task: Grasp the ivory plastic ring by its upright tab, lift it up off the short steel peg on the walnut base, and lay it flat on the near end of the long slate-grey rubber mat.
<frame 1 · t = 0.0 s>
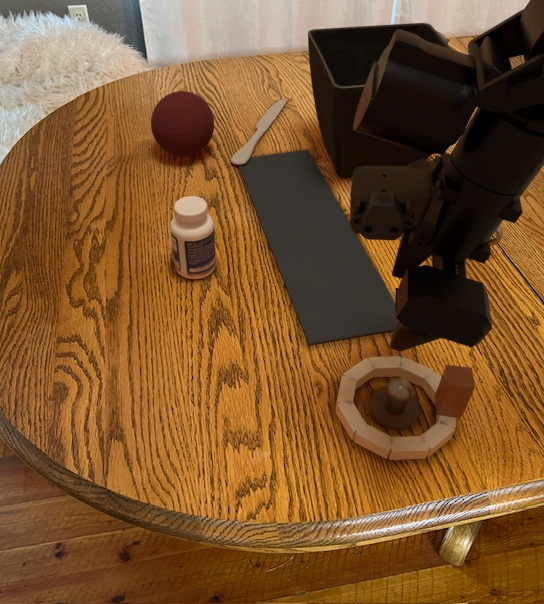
hand: (395, 310, 54), 13 cm above the table, tool pointing down, fingers open, 9 cm apart
cat figurine: (416, 99, 109), on the table
ivory ring: (393, 409, 62), on the table
rubber mat: (308, 231, 83), on the table
pill bottle: (195, 267, 79), on the table
butter knife: (262, 130, 102), on the table, touching rubber mat
flower pot: (368, 157, 96), on the table
oil lamp: (444, 242, 81), on the table
decorative ball: (185, 153, 99), on the table
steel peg: (393, 409, 62), on the table
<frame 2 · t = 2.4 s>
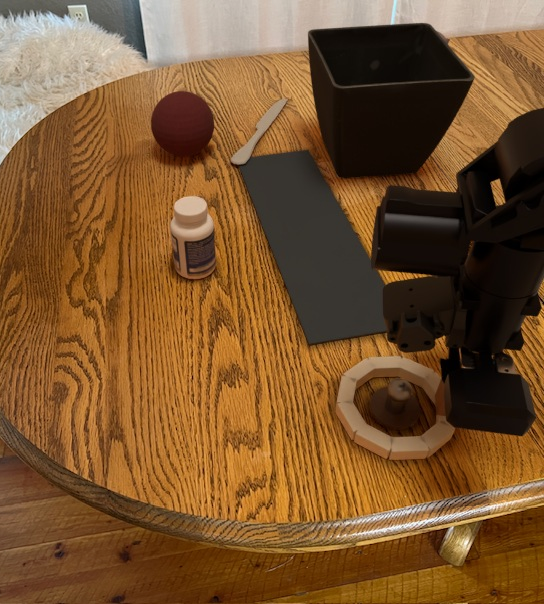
hand: (453, 392, 58), 4 cm above the table, tool pointing down, fingers closed on ivory ring, 2 cm apart
ivory ring: (393, 409, 62), on the table, touching gripper
everything else where it was.
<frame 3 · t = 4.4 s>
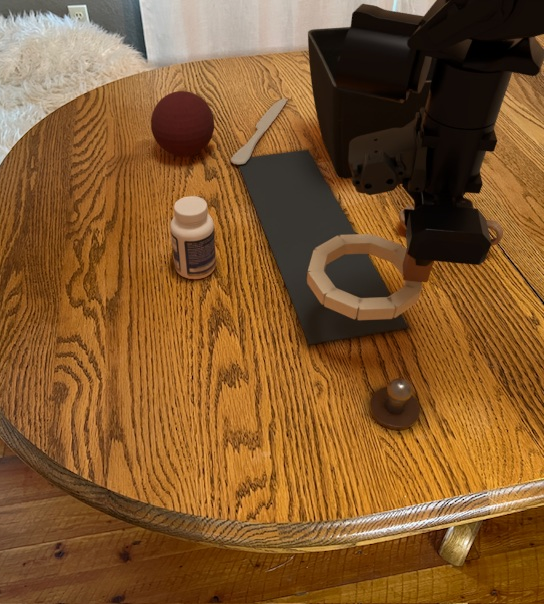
hand: (420, 255, 60), 12 cm above the table, tool pointing down, fingers closed on ivory ring, 2 cm apart
ivory ring: (363, 280, 64), point 8 cm above the table, touching gripper
everything else where it was.
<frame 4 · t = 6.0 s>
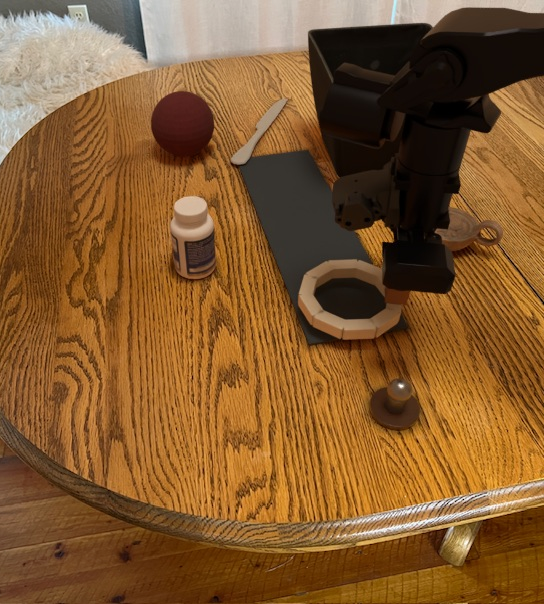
hand: (399, 281, 67), 6 cm above the table, tool pointing down, fingers closed on ivory ring, 2 cm apart
ivory ring: (349, 302, 71), point 2 cm above the table, touching gripper
everything else where it was.
when the fingers open (4 cm above the table, at t = 6.7 s): ivory ring stays where it is, resting on rubber mat.
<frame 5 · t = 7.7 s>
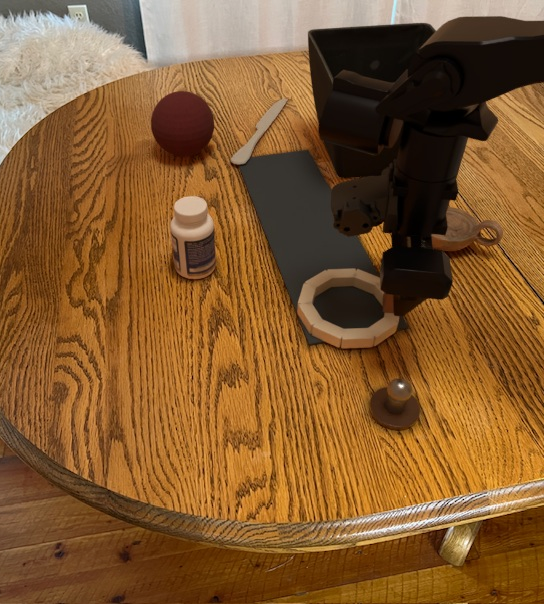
hand: (397, 285, 68), 5 cm above the table, tool pointing down, fingers open, 9 cm apart
ivory ring: (347, 311, 72), resting on rubber mat
everything else where it was.
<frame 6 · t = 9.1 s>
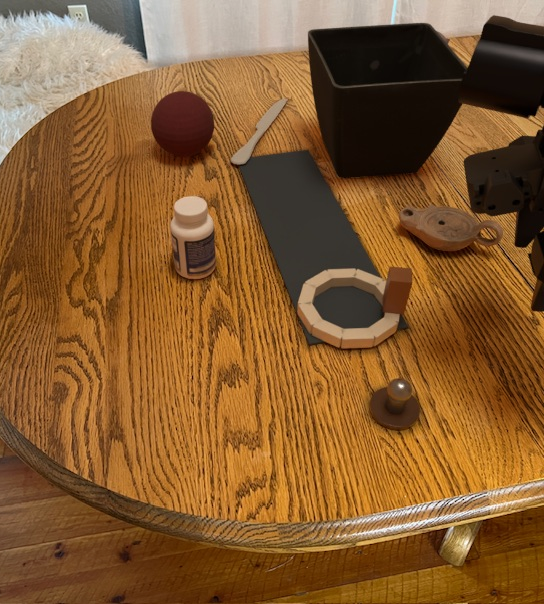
hand: (527, 276, 58), 12 cm above the table, tool pointing down, fingers open, 9 cm apart
nothing on the table moved.
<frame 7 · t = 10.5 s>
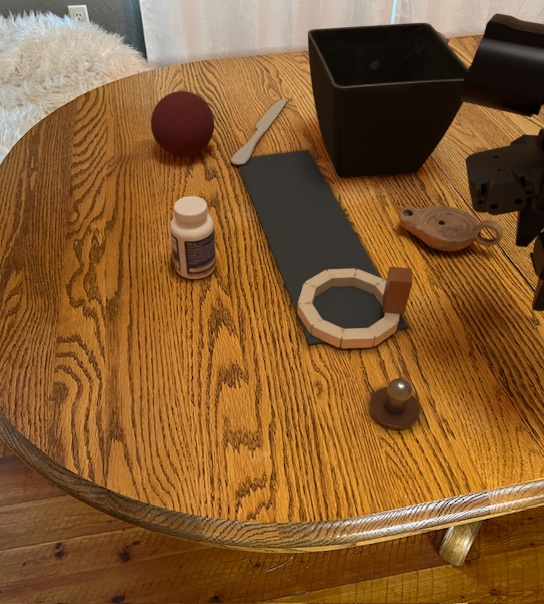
hand: (528, 276, 58), 12 cm above the table, tool pointing down, fingers open, 9 cm apart
nothing on the table moved.
at the end: ivory ring inside the target area on the rubber mat (0.2 cm from its centre), point 0.3 cm above the rubber mat's base; ivory ring touching rubber mat; ivory ring tilted 0° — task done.
